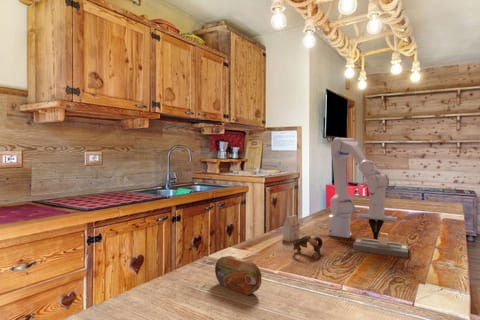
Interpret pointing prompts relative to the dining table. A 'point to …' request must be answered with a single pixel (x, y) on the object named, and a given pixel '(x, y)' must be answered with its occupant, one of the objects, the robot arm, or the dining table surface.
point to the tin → (238, 274)
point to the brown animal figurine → (312, 242)
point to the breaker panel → (381, 247)
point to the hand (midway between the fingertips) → (375, 238)
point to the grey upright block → (291, 228)
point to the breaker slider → (383, 238)
